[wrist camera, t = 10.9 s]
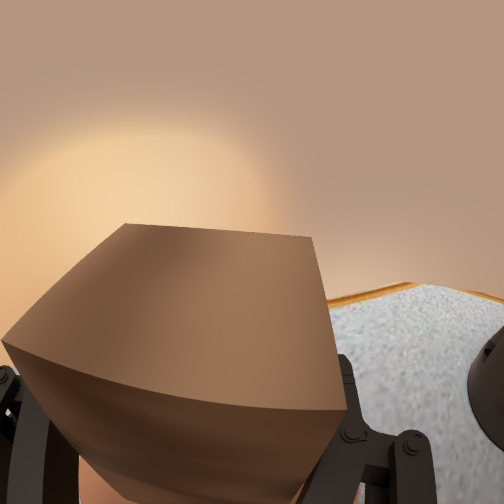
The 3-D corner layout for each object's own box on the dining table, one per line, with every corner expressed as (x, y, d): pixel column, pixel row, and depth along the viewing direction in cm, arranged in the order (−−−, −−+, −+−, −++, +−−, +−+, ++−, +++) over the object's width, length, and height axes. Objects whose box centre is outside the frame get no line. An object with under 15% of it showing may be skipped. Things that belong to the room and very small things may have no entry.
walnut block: (277, 415, 15) (311, 237, 10) (272, 525, 9) (347, 409, 4) (159, 399, 15) (124, 223, 11) (125, 499, 9) (0, 339, 4)
